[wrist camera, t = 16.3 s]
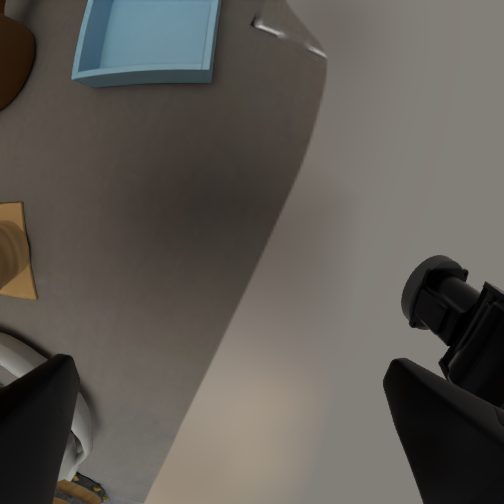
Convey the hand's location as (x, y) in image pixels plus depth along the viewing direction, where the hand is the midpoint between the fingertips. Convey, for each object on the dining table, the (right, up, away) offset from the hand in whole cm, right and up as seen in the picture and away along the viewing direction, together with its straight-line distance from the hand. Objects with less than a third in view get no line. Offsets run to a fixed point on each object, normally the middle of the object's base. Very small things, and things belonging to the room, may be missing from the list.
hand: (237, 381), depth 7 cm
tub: (-6, +17, +7) cm, 20 cm away
